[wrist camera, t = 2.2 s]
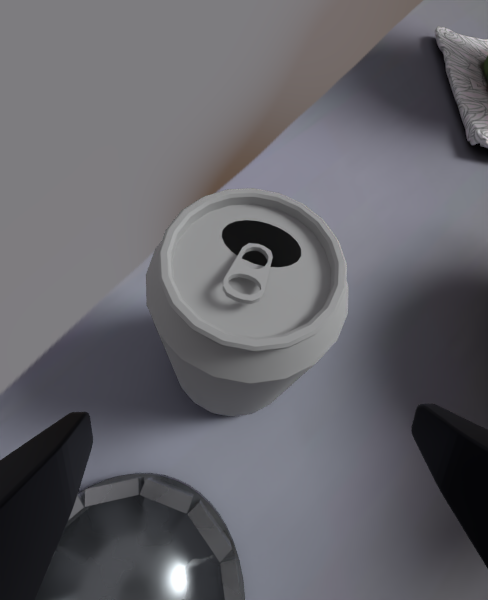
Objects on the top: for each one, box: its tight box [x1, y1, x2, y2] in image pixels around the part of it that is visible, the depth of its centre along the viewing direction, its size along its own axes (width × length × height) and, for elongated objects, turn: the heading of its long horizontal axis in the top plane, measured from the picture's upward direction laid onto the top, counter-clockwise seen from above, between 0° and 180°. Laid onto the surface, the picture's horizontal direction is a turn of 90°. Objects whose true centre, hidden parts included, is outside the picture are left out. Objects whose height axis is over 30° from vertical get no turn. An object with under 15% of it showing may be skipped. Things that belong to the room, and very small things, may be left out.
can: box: [146, 188, 348, 417], centre depth 16 cm, size 8×8×12 cm
